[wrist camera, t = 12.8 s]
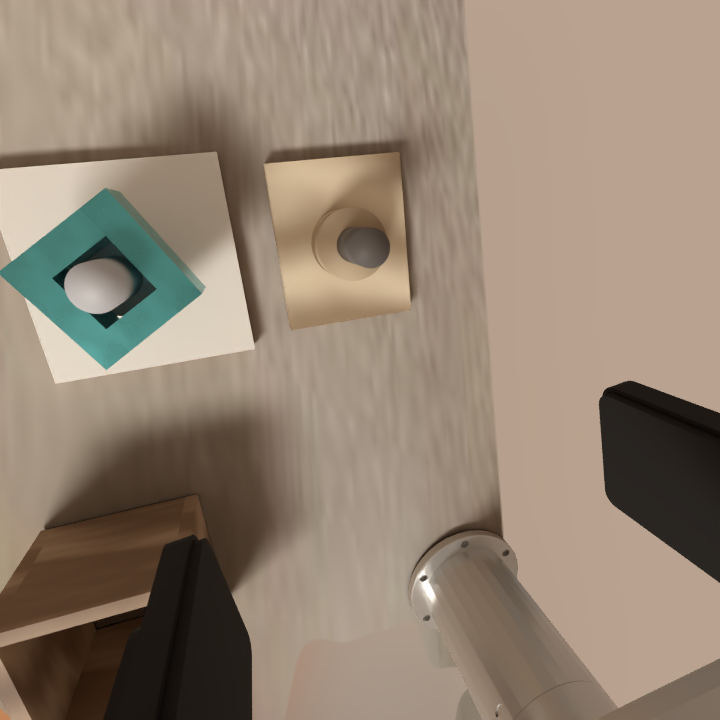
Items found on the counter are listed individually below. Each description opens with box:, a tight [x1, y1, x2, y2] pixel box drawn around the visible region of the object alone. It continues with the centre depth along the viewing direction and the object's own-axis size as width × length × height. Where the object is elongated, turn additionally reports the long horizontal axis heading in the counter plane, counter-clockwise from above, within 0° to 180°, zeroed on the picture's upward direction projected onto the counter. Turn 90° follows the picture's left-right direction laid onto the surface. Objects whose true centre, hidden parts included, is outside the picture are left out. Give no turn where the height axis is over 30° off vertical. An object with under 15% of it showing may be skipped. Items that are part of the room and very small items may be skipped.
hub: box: [0, 152, 255, 384], centre depth 27 cm, size 14×14×10 cm
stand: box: [263, 152, 411, 330], centre depth 30 cm, size 12×10×8 cm
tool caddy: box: [0, 494, 213, 720], centre depth 33 cm, size 12×12×10 cm
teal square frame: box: [0, 188, 206, 370], centre depth 25 cm, size 7×7×3 cm
